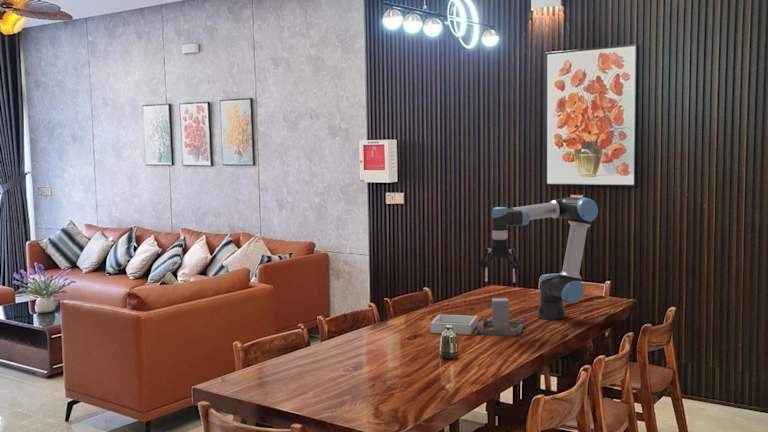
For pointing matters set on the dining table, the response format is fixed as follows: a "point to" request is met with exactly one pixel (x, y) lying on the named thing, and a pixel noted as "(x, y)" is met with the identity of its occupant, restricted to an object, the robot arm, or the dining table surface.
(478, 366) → the dining table surface
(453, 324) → the bin
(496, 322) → the skincare box
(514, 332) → the frame
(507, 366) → the dining table surface
